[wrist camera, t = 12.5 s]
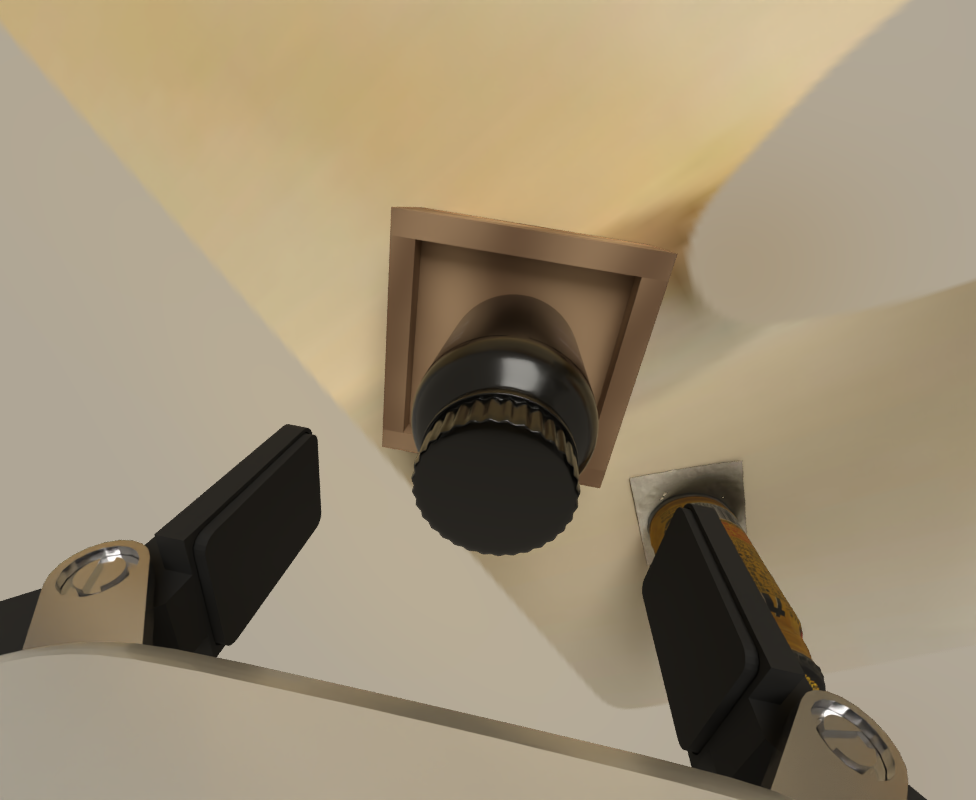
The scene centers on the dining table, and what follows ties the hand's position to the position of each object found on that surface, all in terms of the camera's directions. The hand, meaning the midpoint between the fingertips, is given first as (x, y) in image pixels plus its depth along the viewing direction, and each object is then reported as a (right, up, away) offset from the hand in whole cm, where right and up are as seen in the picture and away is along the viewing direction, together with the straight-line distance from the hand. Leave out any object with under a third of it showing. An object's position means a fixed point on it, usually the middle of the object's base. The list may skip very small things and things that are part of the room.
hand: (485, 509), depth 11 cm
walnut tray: (+2, +7, +15) cm, 17 cm away
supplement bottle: (+1, +5, +12) cm, 13 cm away
